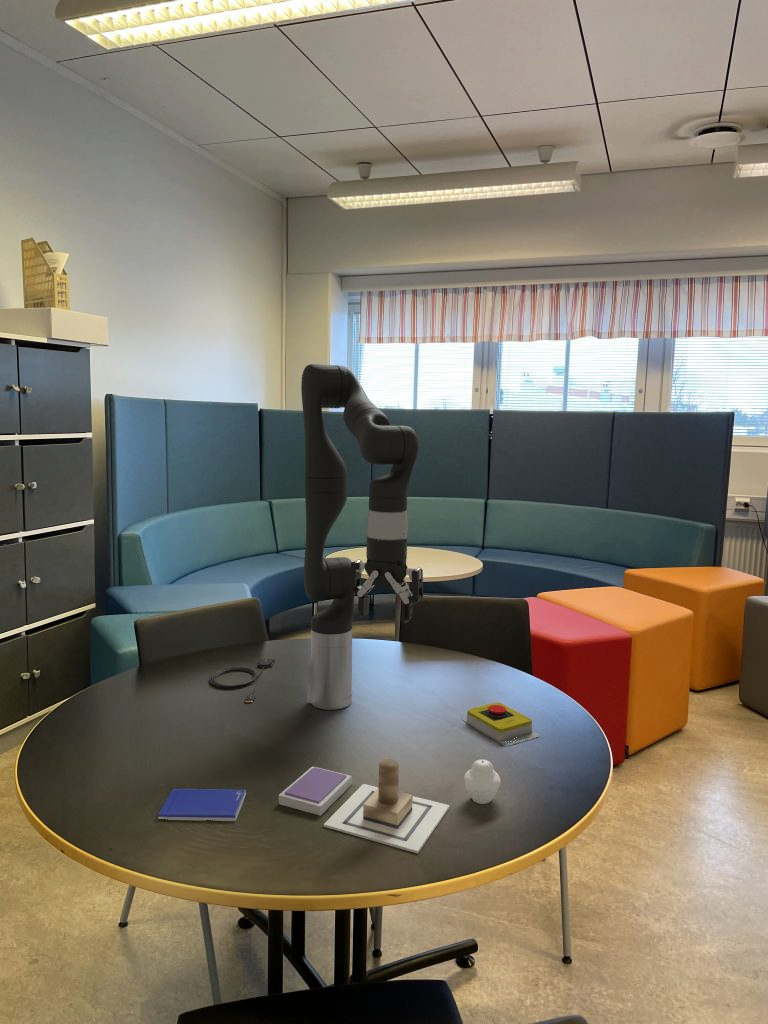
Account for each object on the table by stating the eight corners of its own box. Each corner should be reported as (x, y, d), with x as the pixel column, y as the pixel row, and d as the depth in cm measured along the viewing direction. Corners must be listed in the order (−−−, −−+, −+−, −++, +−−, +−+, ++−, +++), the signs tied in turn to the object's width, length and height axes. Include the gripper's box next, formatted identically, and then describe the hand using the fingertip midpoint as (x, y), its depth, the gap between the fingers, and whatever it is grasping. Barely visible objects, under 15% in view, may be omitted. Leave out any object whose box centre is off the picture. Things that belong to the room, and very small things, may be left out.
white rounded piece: (485, 813, 116) (487, 772, 115) (456, 799, 120) (457, 760, 119) (507, 798, 120) (508, 760, 120) (477, 785, 125) (478, 748, 124)
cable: (193, 704, 160) (193, 698, 160) (224, 662, 188) (224, 656, 188) (252, 705, 159) (252, 699, 159) (275, 663, 187) (275, 658, 187)
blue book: (245, 788, 121) (173, 787, 121) (235, 814, 113) (157, 813, 113) (246, 797, 121) (173, 796, 121) (235, 824, 113) (158, 823, 113)
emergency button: (494, 693, 157) (542, 718, 144) (493, 712, 157) (541, 738, 145) (460, 702, 152) (507, 728, 139) (460, 721, 153) (506, 749, 140)
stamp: (363, 819, 113) (363, 768, 112) (379, 801, 118) (379, 752, 117) (397, 828, 110) (398, 776, 109) (412, 810, 116) (413, 760, 115)
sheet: (323, 826, 111) (323, 823, 111) (363, 785, 124) (363, 783, 124) (417, 853, 105) (418, 850, 105) (449, 807, 117) (449, 804, 117)
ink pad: (278, 804, 118) (278, 793, 118) (312, 774, 128) (312, 764, 127) (320, 815, 114) (320, 804, 114) (351, 784, 124) (351, 774, 124)
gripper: (343, 533, 130) (342, 618, 133) (414, 541, 124) (411, 630, 127) (362, 527, 137) (360, 608, 140) (430, 534, 131) (427, 619, 134)
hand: (384, 618), depth 133 cm, fingers open, 8 cm apart
